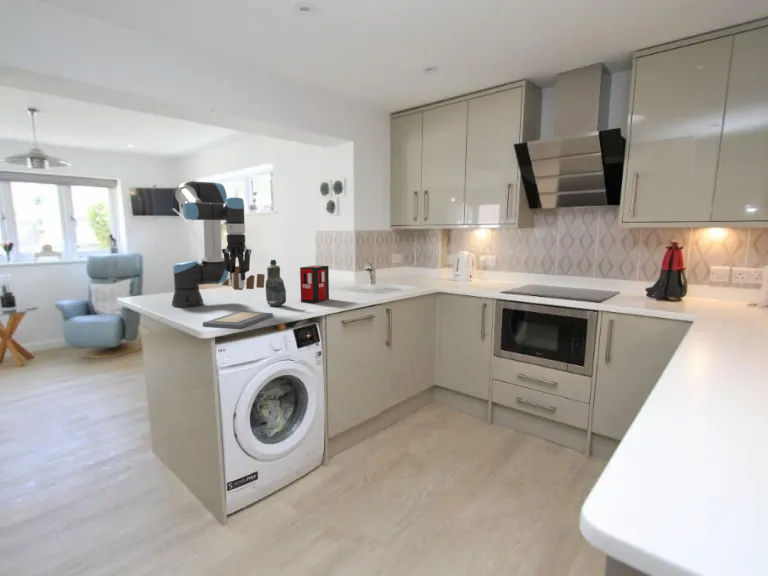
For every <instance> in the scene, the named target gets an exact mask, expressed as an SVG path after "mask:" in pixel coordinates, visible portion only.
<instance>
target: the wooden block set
mask: <svg viewBox="0 0 768 576" xmlns="http://www.w3.org/2000/svg"><path fill="white" fill-rule="evenodd" d="M239 272H240V268H239V265H236V266H235V272H234V273H235V278H234V288H233V290H235V291H243V290H244V288H239ZM245 284H246V286H245V288H246V289H247V290H254V288H255V287H256V288H257V289H258V288H260V289H263V288H265V274H262V273H257V274H256V286H255V275H253V274H252V275H249V276H248V277H247V278H246V283H245ZM229 285H230V277H228V278H227V280H226V281H225V282H224V283H221V286H224V287H225V286H226V287H227V286H229Z"/></svg>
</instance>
